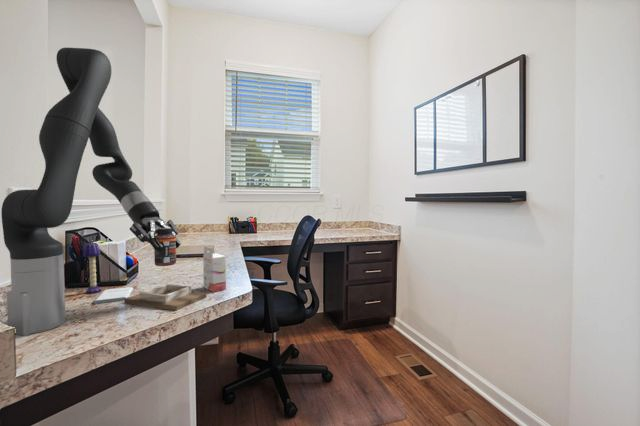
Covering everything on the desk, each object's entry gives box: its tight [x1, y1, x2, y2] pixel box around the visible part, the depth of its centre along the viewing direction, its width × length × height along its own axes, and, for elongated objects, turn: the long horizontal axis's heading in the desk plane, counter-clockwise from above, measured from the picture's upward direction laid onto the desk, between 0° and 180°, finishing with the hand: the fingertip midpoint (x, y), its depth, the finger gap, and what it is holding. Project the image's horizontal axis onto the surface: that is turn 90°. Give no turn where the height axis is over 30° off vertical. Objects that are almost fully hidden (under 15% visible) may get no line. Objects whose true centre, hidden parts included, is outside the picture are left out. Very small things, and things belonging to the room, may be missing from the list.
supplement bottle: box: [153, 228, 177, 267], centre depth 90 cm, size 6×6×11 cm
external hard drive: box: [93, 286, 134, 305], centre depth 94 cm, size 2×8×12 cm
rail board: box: [124, 283, 207, 311], centre depth 90 cm, size 12×20×3 cm, turn 71°
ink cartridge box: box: [202, 246, 227, 293], centre depth 102 cm, size 9×5×15 cm, turn 43°
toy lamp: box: [82, 242, 103, 295], centre depth 98 cm, size 5×5×17 cm
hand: (169, 247), depth 89 cm, fingers closed on supplement bottle, 6 cm apart
